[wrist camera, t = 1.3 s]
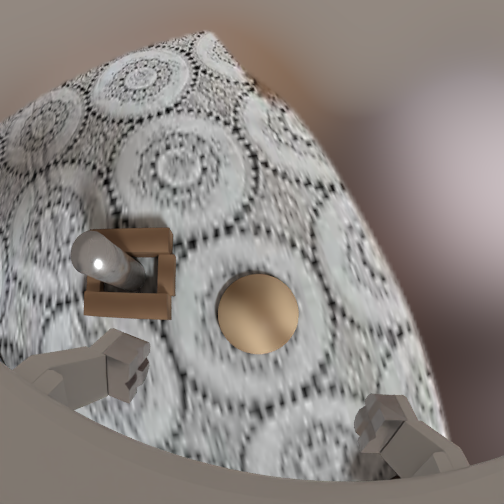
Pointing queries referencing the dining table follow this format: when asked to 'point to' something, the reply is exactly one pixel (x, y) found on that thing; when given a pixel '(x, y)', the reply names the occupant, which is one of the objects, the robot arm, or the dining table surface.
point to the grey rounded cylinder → (106, 262)
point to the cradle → (136, 304)
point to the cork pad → (258, 314)
